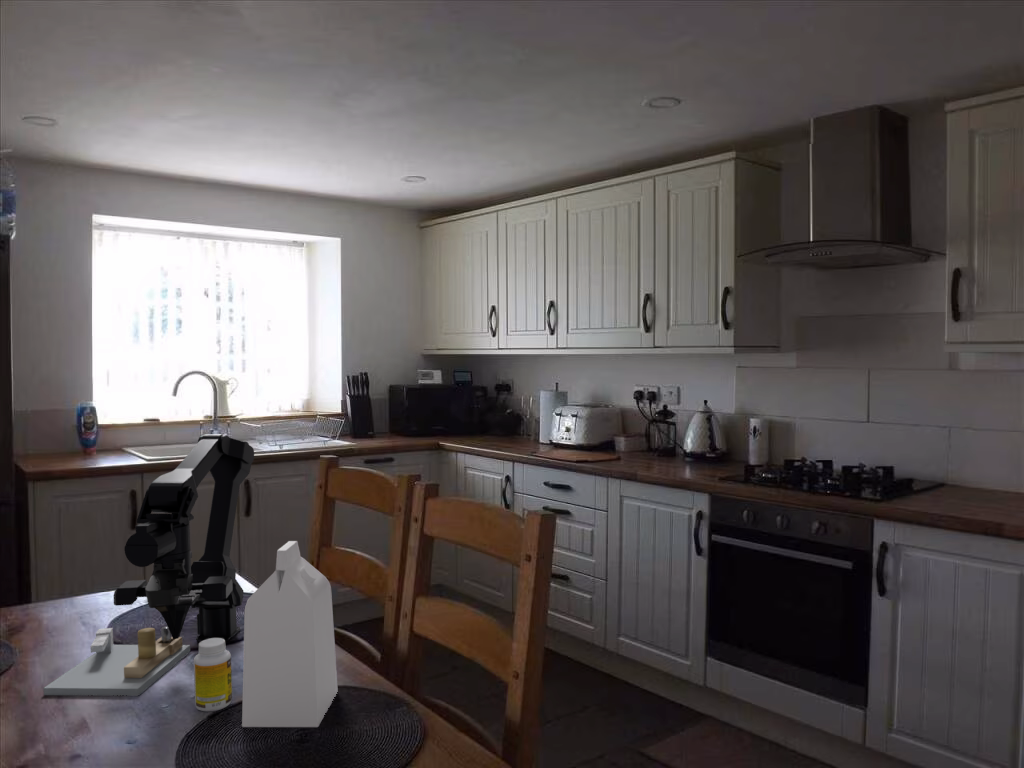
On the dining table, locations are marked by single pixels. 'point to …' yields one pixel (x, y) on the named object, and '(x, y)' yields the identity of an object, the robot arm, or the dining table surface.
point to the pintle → (166, 635)
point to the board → (110, 674)
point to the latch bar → (150, 653)
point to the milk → (289, 646)
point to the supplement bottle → (212, 675)
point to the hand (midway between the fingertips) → (176, 638)
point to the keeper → (103, 641)
